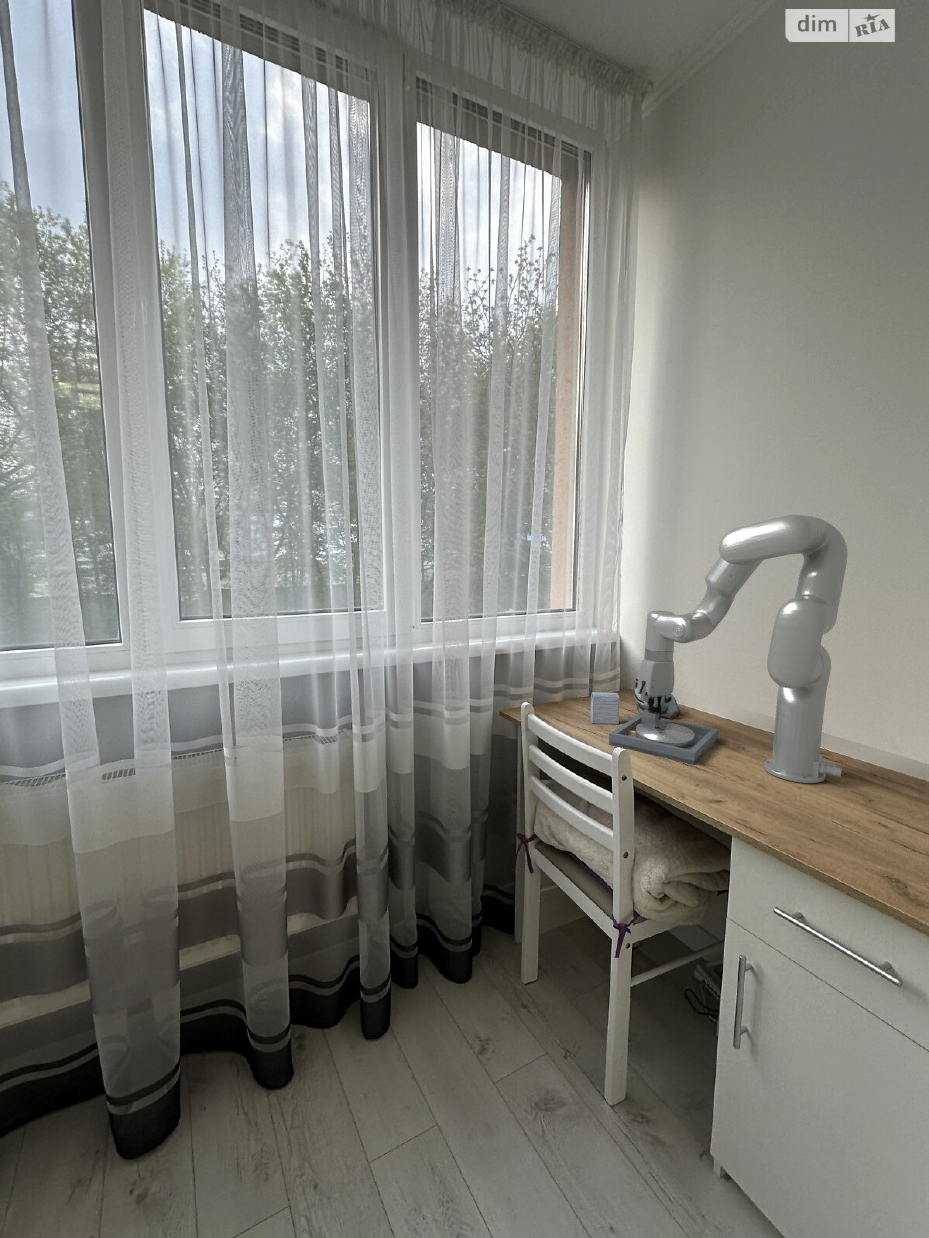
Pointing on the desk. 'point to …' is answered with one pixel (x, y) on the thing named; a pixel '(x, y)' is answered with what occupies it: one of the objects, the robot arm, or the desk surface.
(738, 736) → the desk surface
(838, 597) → the robot arm
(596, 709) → the medicine box
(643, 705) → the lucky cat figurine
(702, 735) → the square tray
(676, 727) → the dial
